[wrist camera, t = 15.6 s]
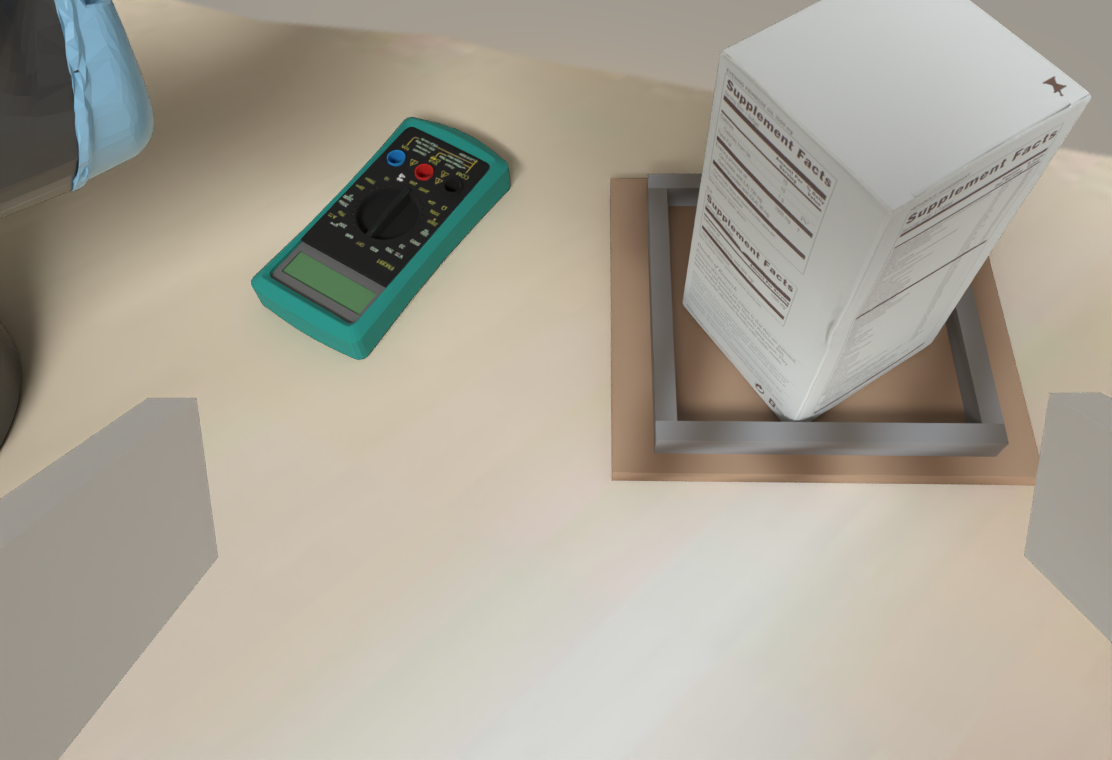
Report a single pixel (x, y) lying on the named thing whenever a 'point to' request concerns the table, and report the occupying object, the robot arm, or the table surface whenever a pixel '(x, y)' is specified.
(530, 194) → the table surface
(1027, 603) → the table surface
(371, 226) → the digital multimeter
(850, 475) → the carrier plate
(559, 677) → the table surface
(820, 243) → the supplement box
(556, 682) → the table surface
